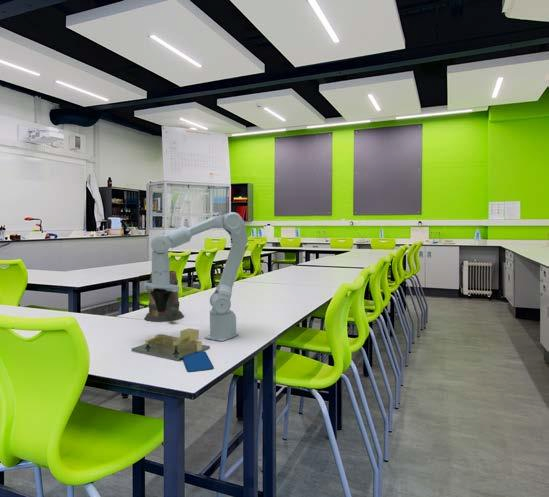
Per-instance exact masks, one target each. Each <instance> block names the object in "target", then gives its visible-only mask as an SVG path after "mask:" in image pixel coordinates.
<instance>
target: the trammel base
mask: <svg viewBox="0 0 549 497" xmlns="http://www.w3.org/2000/svg"><path fill="white" fill-rule="evenodd" d="M177 340H180V336H179V337H177V336H172V335H167V334H161V333H160V334H156V335H154V337H153V338H150V339H147V340H145V341H144V342H145V343H144V344H141V345H138V346H135V347H132V348H131V349H130V350H131V352H133V353H134V352H135V353H140V354H144V355H148V356H154V357H158V358H162V359H168V360H170V361H171V360H172V361H176V362H180V361H183V358H184V357H186V356H189V355H191V354H193V353H195V352H201V351H205V352H206V351H208V350H210V349H211V345H205V344H203V342H202V341H200V340H195V341H193V342H185V343H182V344H179V345H177V352H178V353H175V345H173V342H174V341H177Z"/></svg>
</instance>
